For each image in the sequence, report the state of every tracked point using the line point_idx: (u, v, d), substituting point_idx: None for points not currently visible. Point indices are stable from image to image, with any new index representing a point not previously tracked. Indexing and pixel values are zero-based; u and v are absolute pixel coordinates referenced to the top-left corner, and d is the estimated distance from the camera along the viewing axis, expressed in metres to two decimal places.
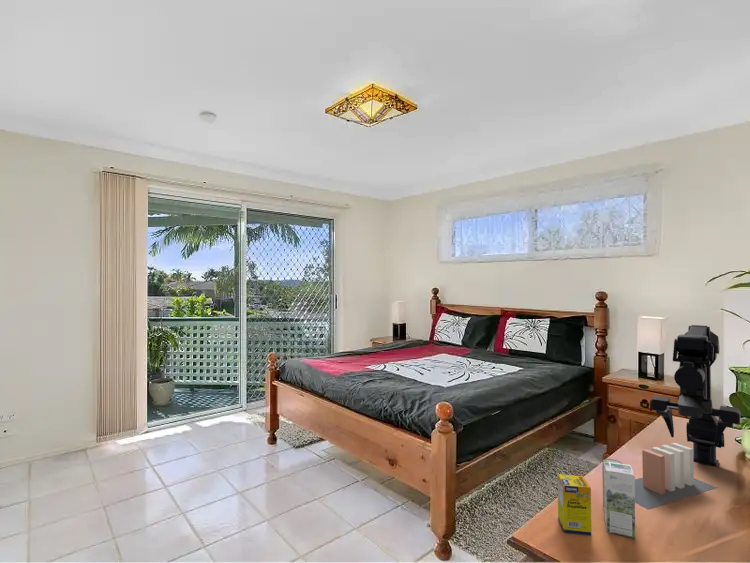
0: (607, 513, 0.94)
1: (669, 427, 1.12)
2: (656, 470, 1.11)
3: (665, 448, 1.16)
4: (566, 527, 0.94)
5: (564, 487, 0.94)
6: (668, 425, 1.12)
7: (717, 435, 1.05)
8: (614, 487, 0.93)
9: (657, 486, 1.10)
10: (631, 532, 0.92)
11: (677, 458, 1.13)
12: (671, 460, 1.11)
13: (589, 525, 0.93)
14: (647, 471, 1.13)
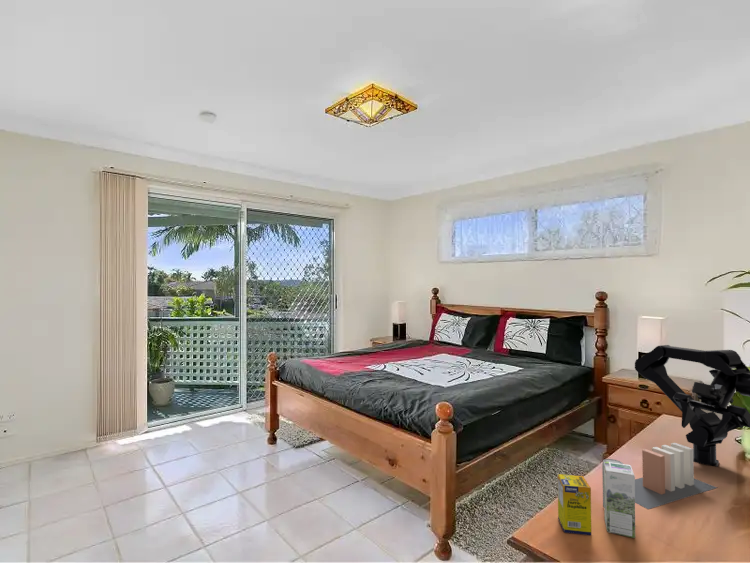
0: (607, 513, 0.94)
1: (683, 416, 1.24)
2: (656, 470, 1.11)
3: (665, 448, 1.16)
4: (566, 527, 0.94)
5: (564, 487, 0.94)
6: (683, 415, 1.25)
7: (719, 425, 1.16)
8: (614, 487, 0.93)
9: (657, 486, 1.10)
10: (631, 532, 0.92)
11: (677, 458, 1.13)
12: (671, 460, 1.11)
13: (589, 525, 0.93)
14: (647, 471, 1.13)
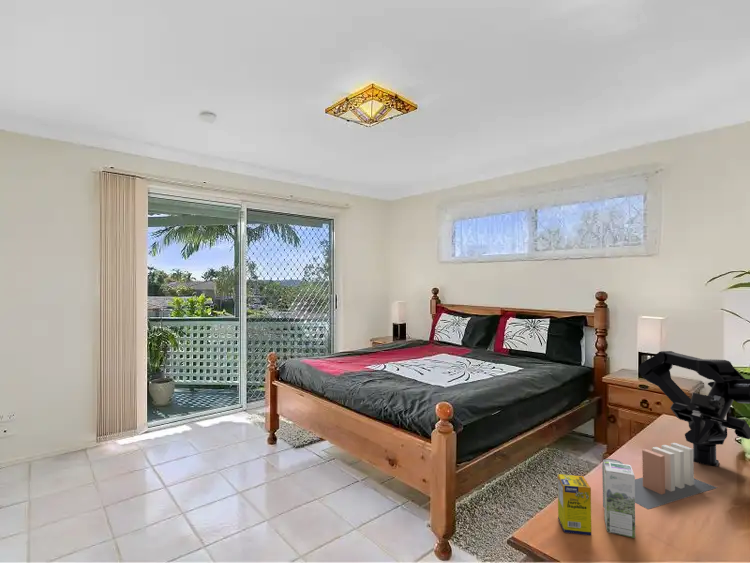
0: (607, 513, 0.94)
1: (697, 431, 1.20)
2: (656, 470, 1.11)
3: (665, 448, 1.16)
4: (566, 527, 0.94)
5: (564, 487, 0.94)
6: (696, 430, 1.20)
7: (702, 432, 1.19)
8: (614, 487, 0.93)
9: (657, 486, 1.10)
10: (631, 532, 0.92)
11: (677, 458, 1.13)
12: (671, 460, 1.11)
13: (589, 525, 0.93)
14: (647, 471, 1.13)
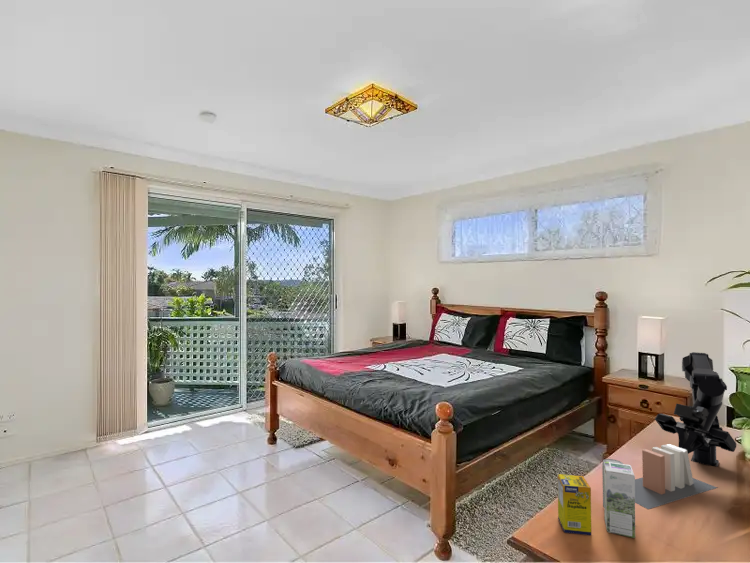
0: (607, 513, 0.94)
1: (680, 443, 1.17)
2: (656, 470, 1.11)
3: (665, 448, 1.16)
4: (566, 527, 0.94)
5: (564, 487, 0.94)
6: (680, 442, 1.18)
7: (685, 444, 1.16)
8: (614, 487, 0.93)
9: (657, 486, 1.10)
10: (631, 532, 0.92)
11: (677, 458, 1.13)
12: (671, 460, 1.11)
13: (589, 525, 0.93)
14: (647, 471, 1.13)
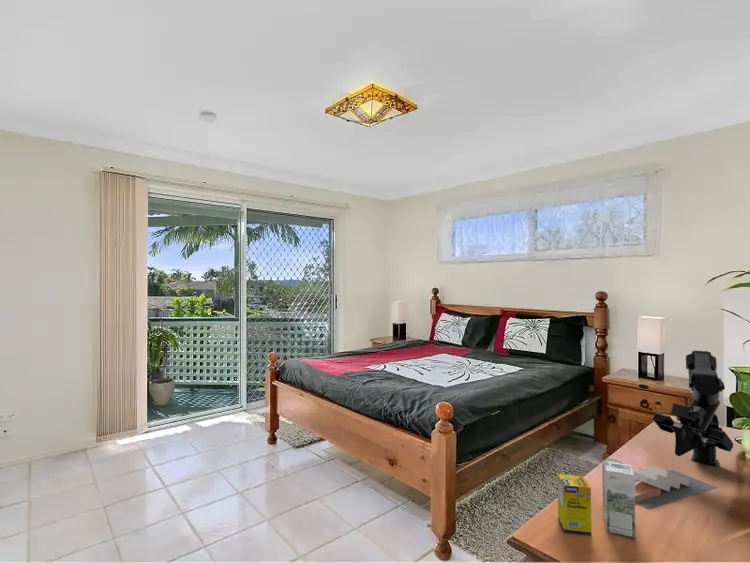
0: (607, 513, 0.94)
1: (677, 443, 1.17)
2: None
3: None
4: (566, 527, 0.94)
5: (564, 487, 0.94)
6: (676, 441, 1.17)
7: (682, 444, 1.16)
8: (614, 487, 0.93)
9: None
10: (631, 532, 0.92)
11: (658, 480, 1.10)
12: (650, 483, 1.08)
13: (589, 525, 0.93)
14: None
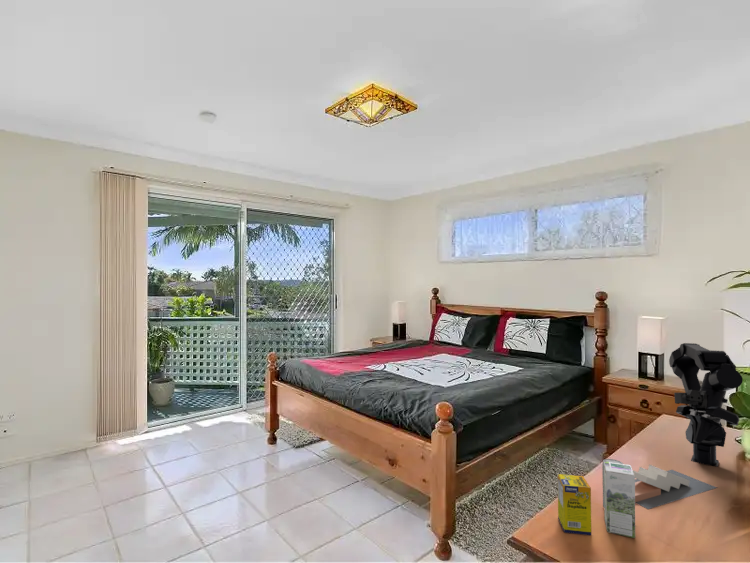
0: (607, 513, 0.94)
1: (694, 430, 1.19)
2: None
3: None
4: (566, 527, 0.94)
5: (564, 487, 0.94)
6: (694, 429, 1.20)
7: (697, 430, 1.18)
8: (614, 487, 0.93)
9: None
10: (631, 532, 0.92)
11: (658, 480, 1.10)
12: (650, 483, 1.08)
13: (589, 525, 0.93)
14: None
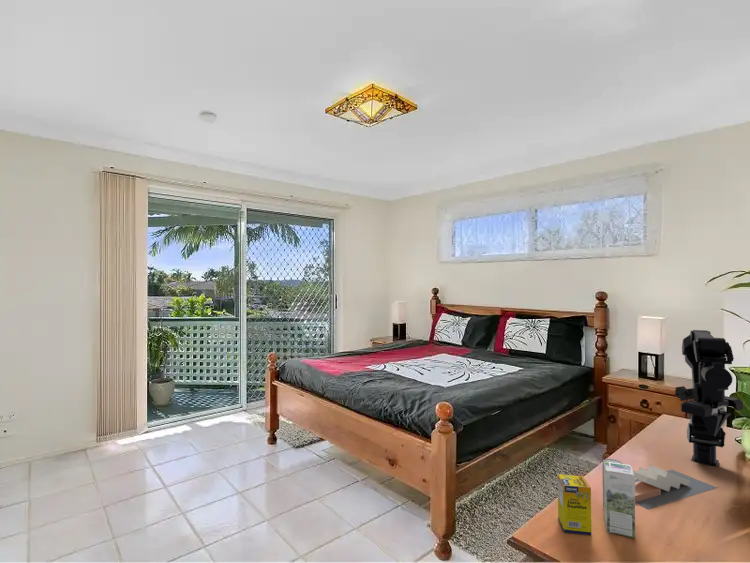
0: (607, 513, 0.94)
1: None
2: None
3: None
4: (566, 527, 0.94)
5: (564, 487, 0.94)
6: None
7: None
8: (614, 487, 0.93)
9: None
10: (631, 532, 0.92)
11: (658, 480, 1.10)
12: (650, 483, 1.08)
13: (589, 525, 0.93)
14: None
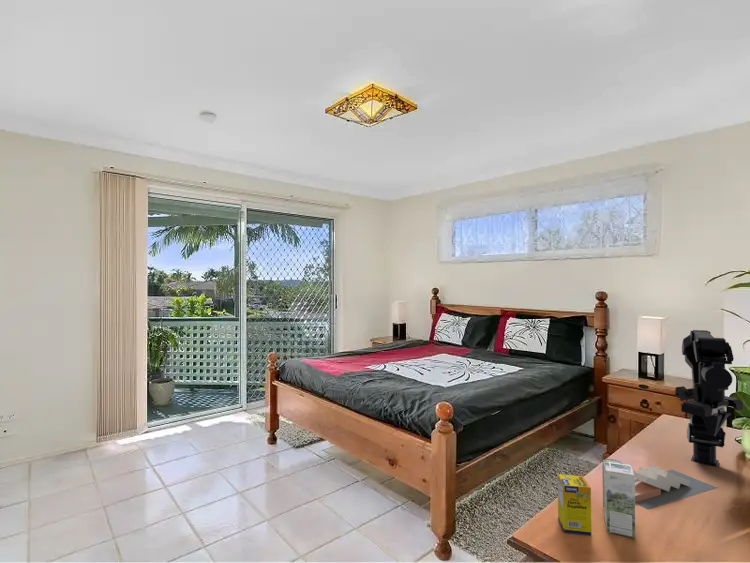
0: (607, 513, 0.94)
1: None
2: None
3: None
4: (566, 527, 0.94)
5: (564, 487, 0.94)
6: None
7: None
8: (614, 487, 0.93)
9: None
10: (631, 532, 0.92)
11: (658, 480, 1.10)
12: (650, 483, 1.08)
13: (589, 525, 0.93)
14: None
